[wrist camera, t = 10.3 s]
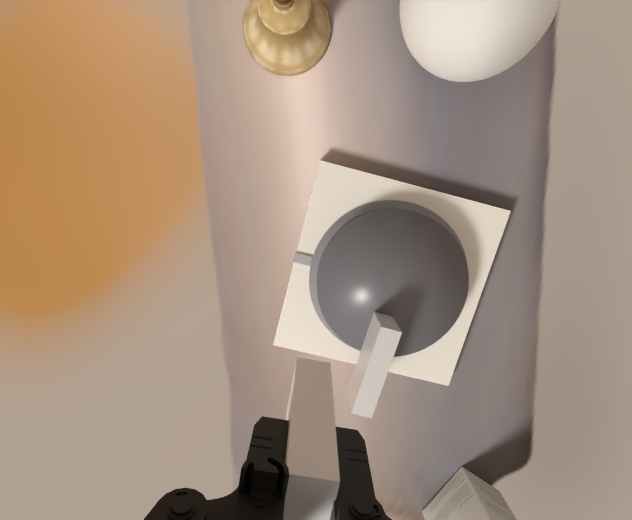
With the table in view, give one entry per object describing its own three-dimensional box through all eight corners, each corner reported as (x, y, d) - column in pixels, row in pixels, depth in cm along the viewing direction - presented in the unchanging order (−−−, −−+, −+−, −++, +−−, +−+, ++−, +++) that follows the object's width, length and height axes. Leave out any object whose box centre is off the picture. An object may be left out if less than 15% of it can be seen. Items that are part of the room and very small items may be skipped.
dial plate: (318, 160, 39) (318, 159, 37) (503, 209, 40) (512, 211, 39) (273, 340, 43) (271, 347, 41) (443, 380, 44) (448, 388, 43)
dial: (340, 190, 38) (346, 191, 32) (482, 232, 39) (513, 241, 33) (288, 365, 42) (284, 396, 36) (418, 399, 43) (436, 434, 37)
